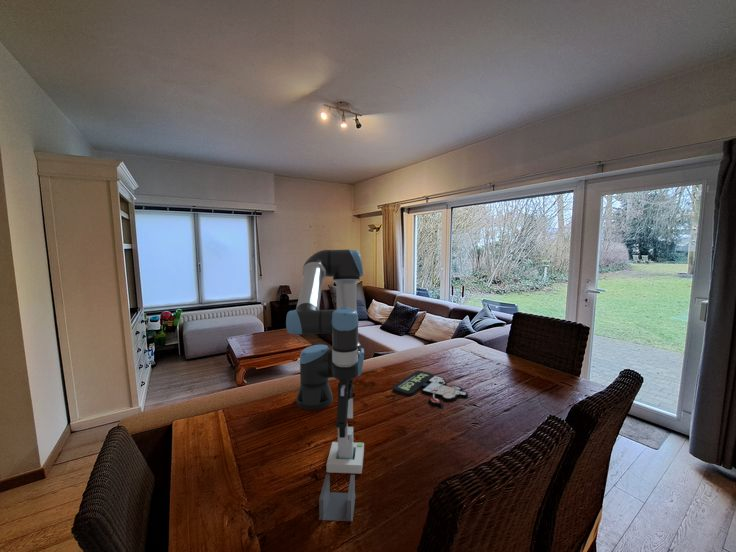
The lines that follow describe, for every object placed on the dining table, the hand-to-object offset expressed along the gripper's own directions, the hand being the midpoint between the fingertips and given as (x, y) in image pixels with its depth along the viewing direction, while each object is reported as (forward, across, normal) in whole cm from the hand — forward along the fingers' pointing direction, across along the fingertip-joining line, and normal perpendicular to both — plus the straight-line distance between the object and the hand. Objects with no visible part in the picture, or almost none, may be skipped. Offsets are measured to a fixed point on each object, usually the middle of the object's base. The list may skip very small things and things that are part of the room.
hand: (346, 430), depth 89 cm
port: (+10, -1, 0) cm, 10 cm away
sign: (+11, +49, -34) cm, 60 cm away
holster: (+9, -17, 0) cm, 19 cm away
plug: (+10, -1, 0) cm, 10 cm away
